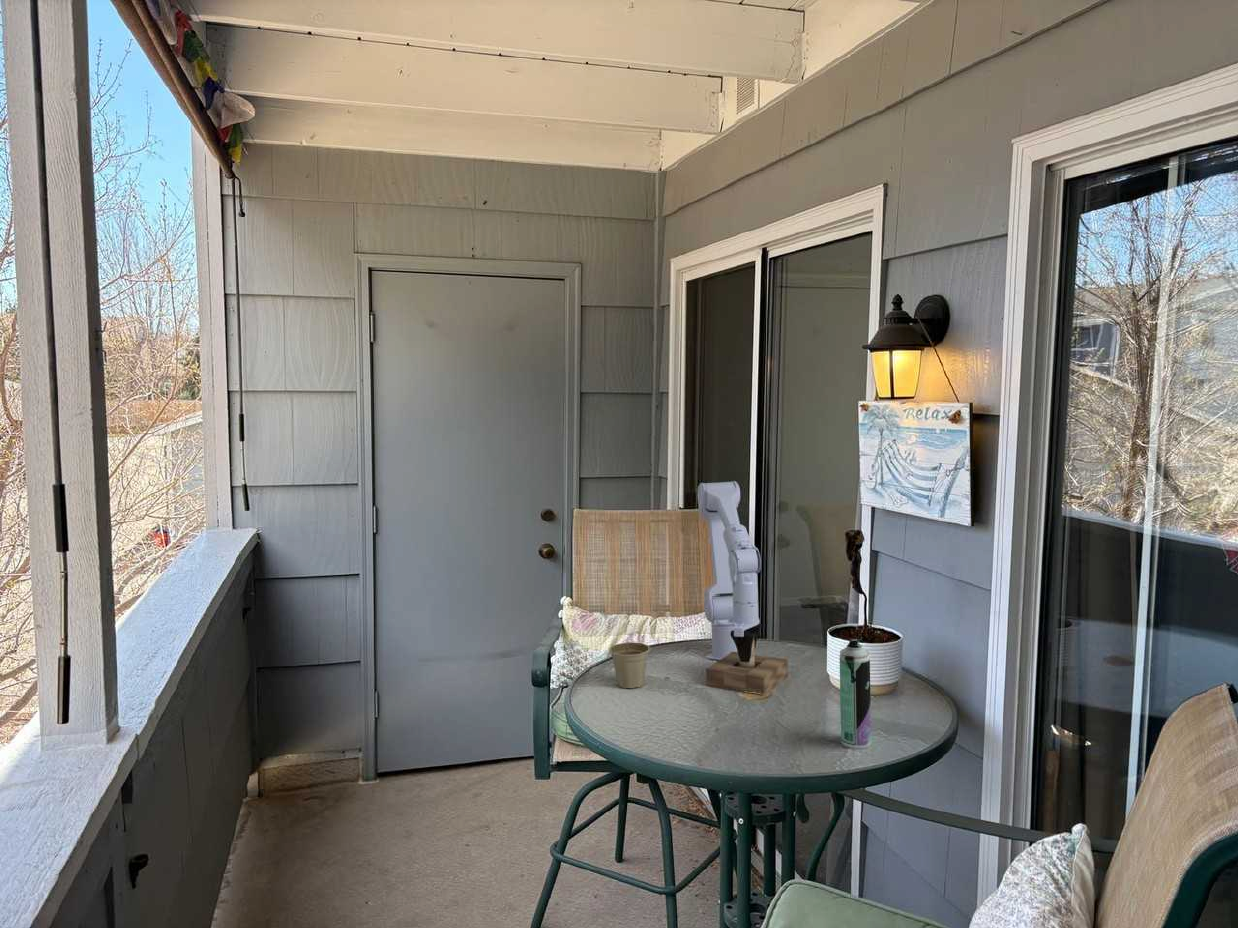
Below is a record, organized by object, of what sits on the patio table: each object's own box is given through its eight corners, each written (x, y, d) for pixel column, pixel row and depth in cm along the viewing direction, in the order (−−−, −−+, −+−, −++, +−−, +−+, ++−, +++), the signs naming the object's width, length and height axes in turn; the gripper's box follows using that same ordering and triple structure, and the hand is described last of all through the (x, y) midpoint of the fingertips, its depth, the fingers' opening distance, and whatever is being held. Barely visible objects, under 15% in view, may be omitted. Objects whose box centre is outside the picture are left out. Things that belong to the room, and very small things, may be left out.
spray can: (872, 749, 156) (870, 644, 154) (841, 748, 157) (839, 643, 155) (869, 737, 161) (868, 635, 159) (840, 736, 162) (838, 634, 161)
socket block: (733, 667, 204) (732, 651, 204) (787, 676, 197) (787, 659, 196) (706, 685, 193) (706, 668, 192) (764, 695, 185) (763, 677, 185)
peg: (740, 668, 197) (739, 634, 196) (756, 669, 196) (755, 635, 195) (738, 673, 193) (737, 638, 193) (753, 674, 192) (752, 639, 192)
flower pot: (651, 691, 191) (650, 653, 190) (610, 692, 191) (608, 655, 190) (651, 677, 200) (649, 641, 199) (611, 678, 200) (609, 642, 200)
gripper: (736, 592, 201) (737, 647, 203) (720, 607, 188) (721, 667, 189) (765, 593, 199) (767, 650, 200) (751, 609, 185) (752, 669, 186)
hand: (747, 658), depth 194 cm, fingers closed on peg, 4 cm apart
